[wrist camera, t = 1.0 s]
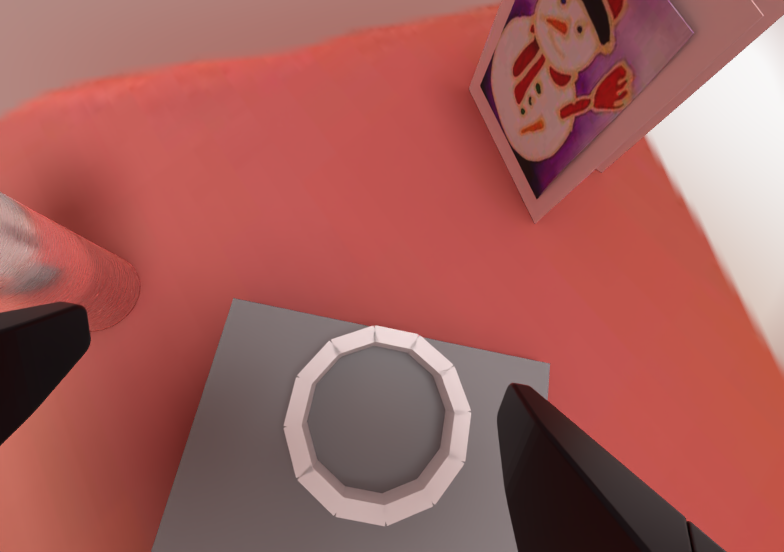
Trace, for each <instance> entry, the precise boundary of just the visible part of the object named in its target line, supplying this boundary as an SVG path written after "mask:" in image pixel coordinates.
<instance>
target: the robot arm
mask: <svg viewBox="0 0 784 552" xmlns="http://www.w3.org/2000/svg"><path fill="white" fill-rule="evenodd" d="M90 341H91V337H90V329H89V322H88V314H87V310H86V309H85V307H84V306H82V305H80V304H74V303H69V302H54V303H49V304H43V305H38V306H33V307H27V308H22V309H17V310H12V311H6V312H1V313H0V445H1V444H2V443H3V442H4V441H6V440H7V439H8V438H9V437H10V436H11V435H12V434H13V433H14V432H15V431H16V430H17V429H18V428H19V427H20V426H21V425H22V424H23V423H24V422H25V421H26V420H27V419H28V418H29V417H30V416H31V415H32V414H33V413H34V411H35V410H36V409H37V408H38V407H39V406H40V405H41V404H42V403H43V401H44V400H45V399H46V398H47V397H48V396H49V394H50V393H51V392H52V391H53V390H54V389H55V387H56V386H57V385H58V384H59V383H60V382H61V380H62V379H63V378H64V377H65V376H66V375H67V373H68V372H69V371H70V370H71V369H72V368H73V366H74V365H75V364H76V363H77V362H78V361H79V359H80V358H81V357H82V356H83V355H84V354H85V352H86V351H87V349H88V348H89V345H90ZM497 429H498V438H499V447H500V456H501V465H502V473H503V482H504V489H505V495H506V500H507V505H508V509H509V514H510V518H511V523H512V527H513V532H514V536H515V541H516V545H517V550H518V552H726V551H725V550H724V549H722V548H721V547H720V546H719V545H718V544H716V543H715V542H714V541H713V540H712V539H710V538H709V537H708V536H707V535H706V534H705V533H703V532H702V531H701V530H700V529H699V528H698V527H696V526H695V525H694V524H693V523H692V522H690V521H687V522H686V518H685V517H684V516H683V515H682V514H681V513H680V512H679V511H677V510H676V509H675V508H674V507H673V506H671V505H670V504H669V503H668V502H667V501H666V500H664V499H663V498H662V497H661V496H660V495H658V494H657V493H656V492H655V491H654V490H652V489H651V488H650V487H649V486H648V485H647V484H645V483H644V482H643V481H642V480H641V479H639V478H638V477H637V476H636V475H635V474H634V473H632V472H631V471H630V470H629V469H628V468H626V467H625V466H624V465H623V464H622V463H621V462H619V461H618V460H617V459H616V458H615V457H613V456H612V455H611V454H610V453H609V452H608V451H606V450H605V449H604V448H603V447H602V446H600V445H599V444H598V443H597V442H596V441H595V440H593V439H592V438H591V437H590V436H589V435H587V434H586V433H585V432H584V431H583V430H582V429H580V428H579V427H578V426H577V425H576V424H574V423H573V422H572V421H571V420H570V419H569V418H567V417H566V416H565V415H564V414H563V413H561V412H560V411H559V410H558V409H557V408H556V407H554V406H553V405H552V404H551V403H550V402H548V401H547V400H546V399H545V398H544V397H543V396H541V395H540V394H539V393H538V392H537V391H535V390H534V389H533V388H532V387H531V386H529V385H524V384H518V383H511V384H509V385H508V387H507V389H506V392H505V394H504V397H503V399H502V402H501V405H500V407H499V410H498V414H497Z"/></svg>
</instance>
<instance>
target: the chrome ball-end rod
mask: <svg viewBox="0 0 784 552" xmlns="http://www.w3.org/2000/svg"><path fill="white" fill-rule="evenodd" d="M139 292H140V281H139V277H138V274H137V272H136V270H135V269H134V267H133V266H132V265H131V264H130V263H129V262H127V261H126V260H124V259H122V258H120V257H119V256H117V255H115V254H113V253H111V252H109V251H108V250H106V249H104V248H102V247H100V246H98V245H97V244H95V243H93V242H91V241H89V240H87V239H85V238H84V237H82V236H80V235H78V234H76V233H74V232H73V231H71V230H69V229H67V228H65V227H63V226H62V225H60V224H58V223H56V222H54V221H52V220H51V219H49V218H47V217H45V216H43V215H41V214H40V213H38V212H36V211H34V210H32V209H30V208H29V207H27V206H25V205H23V204H21V203H19V202H17V201H16V200H14V199H12V198H10V197H8V196H6V195H5V194H3V193H1V192H0V313H1V312H6V311H12V310H17V309H22V308H27V307H33V306H38V305H43V304H49V303H54V302H69V303H74V304H80V305H82V306H84V307H85V309H86V310H87V314H88V322H89V329H90V331H98V330H103V329H106V328H109V327H111V326H113V325H115V324H117V323H118V322H120V321H121V320H122V319H124V318H125V317H126V316H127V315H128V314H129V313H130V312H131V310H132V309H133V307H134V306H135V304H136V302H137V299H138V296H139Z"/></svg>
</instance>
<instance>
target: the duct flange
mask: <svg viewBox="0 0 784 552" xmlns="http://www.w3.org/2000/svg"><path fill="white" fill-rule="evenodd" d="M549 371H550V364H549V363H544V362H539V361H534V360H530V359H525V358H520V357H515V356H510V355H505V354H501V353H496V352H491V351H486V350H481V349H476V348H472V347H467V346H462V345H457V344H452V343H448V342H443V341H438V340H433V339H428V338H423V337H421V336H420V335H419V336H418V334H415V333H410V332H405V331H400V330H395V329H391V328H386V327H381V326H376V325H375V327H374V326H366V325H361V324H356V323H351V322H346V321H341V320H337V319H332V318H327V317H322V316H317V315H313V314H308V313H303V312H298V311H293V310H288V309H284V308H279V307H274V306H269V305H264V304H259V303H255V302H250V301H245V300H240V299H235V298H233V301H232V304H231V307H230V311H229V314H228V317H227V320H226V323H225V326H224V329H223V332H222V335H221V338H220V341H219V344H218V347H217V351H216V354H215V357H214V360H213V363H212V366H211V369H210V372H209V375H208V378H207V381H206V384H205V387H204V391H203V394H202V397H201V400H200V403H199V406H198V409H197V412H196V415H195V418H194V421H193V424H192V427H191V430H190V434H189V437H188V440H187V443H186V446H185V449H184V452H183V455H182V458H181V461H180V464H179V467H178V470H177V474H176V477H175V480H174V483H173V486H172V489H171V492H170V495H169V498H168V501H167V504H166V507H165V510H164V514H163V517H162V520H161V523H160V526H159V529H158V532H157V535H156V538H155V541H154V544H153V547H152V550H151V552H518V550H517V545H516V541H515V536H514V532H513V527H512V523H511V518H510V514H509V509H508V505H507V500H506V495H505V489H504V482H503V473H502V465H501V456H500V447H499V438H498V429H497V414H498V410H499V407H500V405H501V402H502V399H503V397H504V394H505V392H506V389H507V387H508V385H509V384H511V383H518V384H524V385H529V386H531V387H532V388H533V389H534V390H535V391H537V392H538V393H539V394H540V395H541V396H543V397H544V398H545V399H546V400H548V385H549Z"/></svg>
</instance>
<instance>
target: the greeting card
mask: <svg viewBox="0 0 784 552" xmlns="http://www.w3.org/2000/svg"><path fill="white" fill-rule="evenodd" d="M783 15H784V0H502V1H501V4H500V6H499V9H498V12H497V14H496V17H495V20H494V22H493V25H492V28H491V30H490V33H489V36H488V38H487V41H486V44H485V46H484V49H483V52H482V54H481V57H480V60H479V62H478V65H477V68H476V70H475V73H474V76H473V78H472V81H471V84H470V86H469V91H470V93H471V95H472V97H473V99H474V101H475V103H476V105H477V107H478V109H479V111H480V113H481V115H482V117H483V119H484V121H485V123H486V125H487V127H488V129H489V131H490V133H491V135H492V138H493V140H494V142H495V144H496V146H497V148H498V150H499V152H500V154H501V156H502V158H503V160H504V162H505V164H506V166H507V168H508V170H509V172H510V174H511V176H512V178H513V180H514V183H515V185H516V187H517V189H518V191H519V193H520V195H521V197H522V199H523V201H524V203H525V205H526V207H527V209H528V211H529V213H530V215H531V217H532V219H533V221H534V223H535V224H536V223H537V222H538V221H539V220H540V219H541V218H542V217H543V216H544V215H546V214H547V213H548V212H549V211H550V210H551V209H552V208H553V207H554V206H555V205H557V204H558V203H559V202H560V201H561V200H562V199H563V198H564V197H565V196H566V195H568V194H569V193H570V192H571V191H572V190H573V189H574V188H575V187H576V186H577V185H579V184H580V183H581V182H582V181H583V180H584V179H585V178H586V177H587V176H588V175H590V174H591V173H592V172H593V171H594V170H595V169H597V170H598V171H600V172H603V171H605V170H606V169H607V168H608V167H609V166H610V165H611V164H613V163H614V162H615V161H616V160H617V159H618V158H619V157H621V156H622V155H623V154H624V153H625V152H626V151H628V150H629V149H630V148H631V147H632V146H633V145H634V144H636V143H637V142H638V141H639V140H640V139H641V138H642V137H644V136H645V135H646V134H647V133H648V132H649V131H650V130H652V129H653V128H654V127H655V126H656V125H657V124H659V123H660V122H661V121H662V120H663V119H664V118H665V117H667V116H668V115H669V114H670V113H671V112H672V111H673V110H674V109H676V108H677V107H678V106H679V105H680V104H681V103H683V102H684V101H685V100H686V99H687V98H688V97H690V96H691V95H692V94H693V93H694V92H695V91H696V90H697V89H699V88H700V87H701V86H702V85H703V84H705V83H706V82H707V81H708V80H709V79H710V78H711V77H713V76H714V75H715V74H716V73H717V72H718V71H719V70H721V69H722V68H723V67H724V66H725V65H726V64H727V63H728V62H730V61H731V60H732V59H733V58H734V57H735V56H737V55H738V54H739V53H740V52H741V51H742V50H744V49H745V48H746V47H747V46H748V45H749V44H750V43H752V41H754V40H755V39H756V38H757V37H758V36H760V35H761V34H762V33H763V32H764V31H765V30H767V29H768V28H769V27H770V26H771V25H772V24H773V23H774V22H776V21H777V20H778V19H779V18H780V17H781V16H783Z"/></svg>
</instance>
